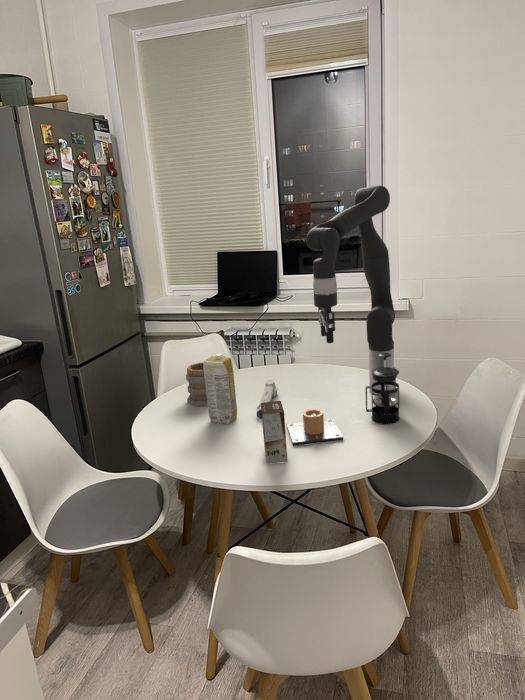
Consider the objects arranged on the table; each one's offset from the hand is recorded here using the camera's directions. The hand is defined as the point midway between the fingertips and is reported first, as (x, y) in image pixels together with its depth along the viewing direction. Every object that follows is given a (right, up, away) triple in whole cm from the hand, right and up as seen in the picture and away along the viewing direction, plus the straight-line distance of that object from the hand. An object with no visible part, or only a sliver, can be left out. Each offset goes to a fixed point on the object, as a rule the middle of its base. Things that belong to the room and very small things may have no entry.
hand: (327, 339), depth 172 cm
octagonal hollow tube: (-5, -30, -3) cm, 30 cm away
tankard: (-41, -22, +35) cm, 59 cm away
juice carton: (-35, -28, +13) cm, 47 cm away
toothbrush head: (-20, -25, +23) cm, 39 cm away
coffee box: (-17, -36, -15) cm, 43 cm away
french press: (+20, -27, +4) cm, 34 cm away
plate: (-5, -31, -3) cm, 31 cm away
